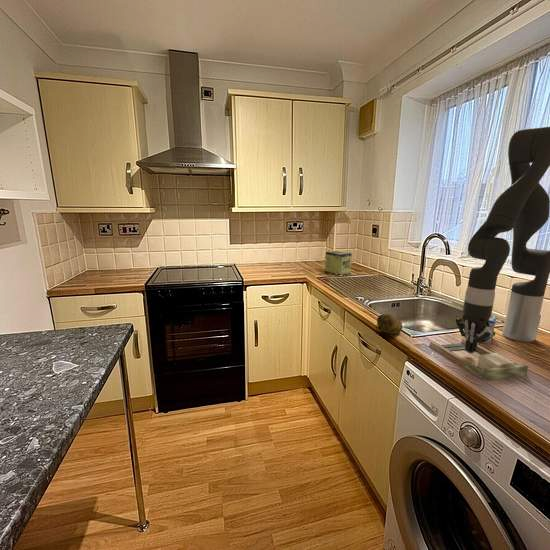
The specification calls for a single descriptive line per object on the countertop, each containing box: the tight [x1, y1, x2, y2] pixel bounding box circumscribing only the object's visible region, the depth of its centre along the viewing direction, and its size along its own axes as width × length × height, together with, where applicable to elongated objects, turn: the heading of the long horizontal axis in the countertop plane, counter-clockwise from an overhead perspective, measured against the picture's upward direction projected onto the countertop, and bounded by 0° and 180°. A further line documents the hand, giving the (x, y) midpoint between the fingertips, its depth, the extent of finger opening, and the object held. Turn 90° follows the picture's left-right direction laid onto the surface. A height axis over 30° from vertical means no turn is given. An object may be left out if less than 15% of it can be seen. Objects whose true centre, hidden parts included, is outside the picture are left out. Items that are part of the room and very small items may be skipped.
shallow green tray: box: [429, 337, 529, 381], centre depth 95 cm, size 14×22×3 cm, turn 12°
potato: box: [376, 313, 403, 335], centre depth 113 cm, size 8×13×8 cm, turn 112°
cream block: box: [476, 352, 516, 371], centre depth 88 cm, size 6×6×4 cm
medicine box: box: [482, 314, 497, 345], centre depth 109 cm, size 8×4×9 cm, turn 141°
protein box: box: [324, 250, 353, 276], centre depth 213 cm, size 10×16×16 cm
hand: (469, 351), depth 97 cm, fingers closed
